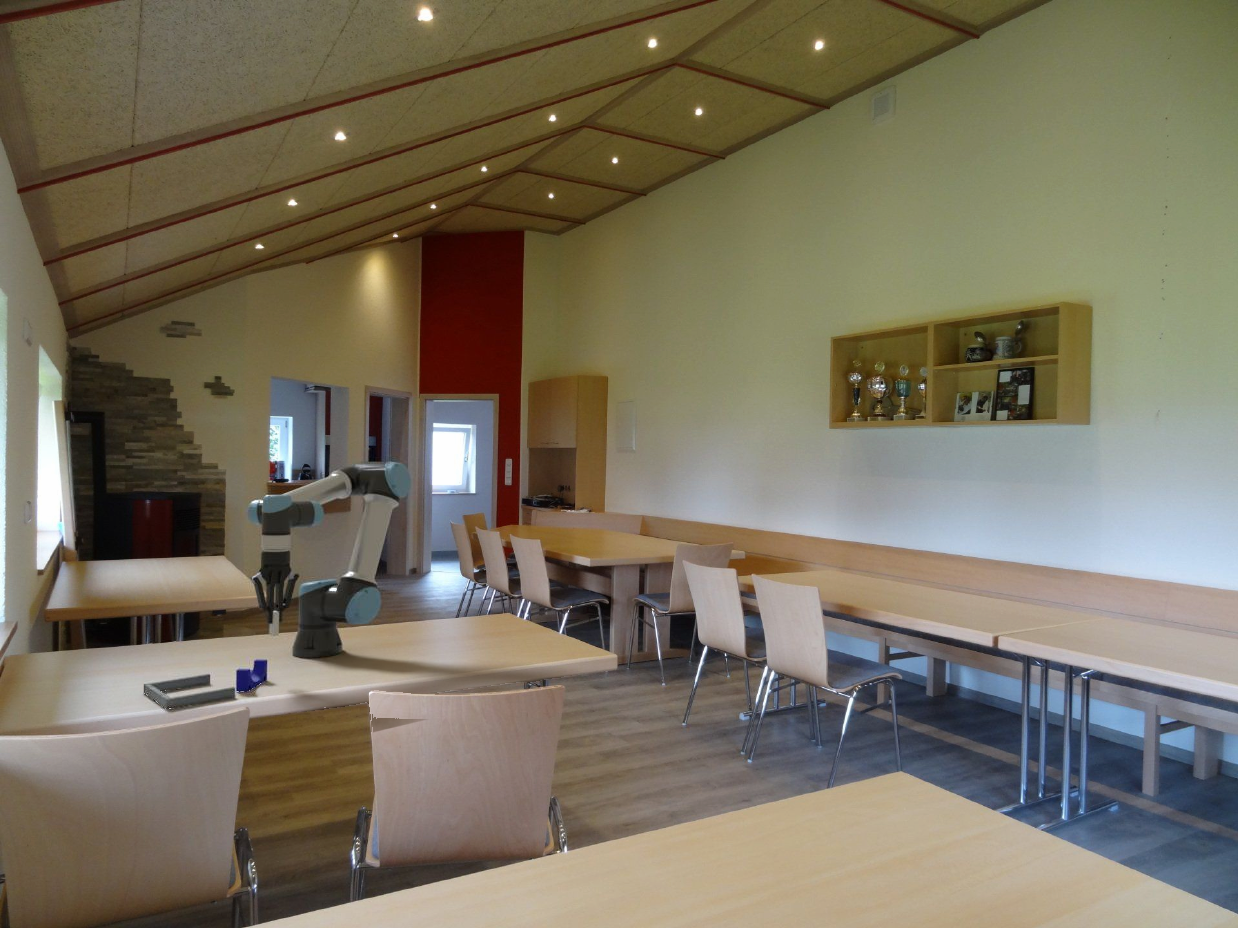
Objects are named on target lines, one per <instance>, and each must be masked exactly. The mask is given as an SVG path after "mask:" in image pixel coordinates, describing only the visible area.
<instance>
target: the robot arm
mask: <svg viewBox="0 0 1238 928" xmlns="http://www.w3.org/2000/svg"><path fill="white" fill-rule="evenodd" d="M411 489H412V477H411V474H410V471H409V469H408V468H407V467H406V465H404V464H403V463H401V462H397V461H396V462H394V461H360V462H356V463H353V464H350V465H347V466H344V467H341V468H338V469H336V470H334V471H332V472H331V473H330V474H328V476H327V477H324V478H321V479H319V480H317V481H314V482H311V483H309V484H306V485H303V486H301V487H298V488H296V489H293V490H290V491H288V492H285V493H282V494H266V495H265V496H263V498H262V499H261V498H260V499H256V500H252V501H251V502H250V503H249V505H248V507H247V510H246V514H247V515H246V516H247V518H248V520H249V521H250V523H252V524H253V525H258V526H261V543H260V545H261V550H262V551H261V552H260V568H259V572H258V573H256V574H255V575H253V576H250V581H251V582H252V583H253V585H254V591H255V594H256V599H257V603H258V607H259V610H260V611H265V612H266V615H265V616H266V624H268V625H269V626H268V627H269V628H268V629H269V632H268V635H270V636H273V637H276V636H279V630H280V628H279V627H280V623H282V622H283V612H284V611H285V610H286V609H289V608H290V606H291V601H292V598H293V595H294V590H295V587H296V582H297V581H298V580H299V578H300V575H299V573H296V572H294V571H292V568H291V565H290V564H291V551H290V550H289V549H291V541H292V539H291V534H292V528H311V527H315V526H318V525H320V524H321V523H322V522H323V519H324V515H325V513H324V507H323V506H322V505H324V504H327V503H329V502H331V501H334V500H336V499H340V500H342V499H346V498H349V497H358V496H359V497H363V500H364V501H365V503H366V504H365V508H364V511H363V514H362V518H361V522H360V524H359V528H358V532H357V536H356V539H355V543H354V547H353V550H352V555H351V557H350V561H349V565H348V569H347V572H346V573H345V574H343V575H342V576H340V579H339V582H338V579H335V578H334V579H333V578H332V579H330V578H329V579H322V580H316V581H315V580H314V581H308V582H304V583H302V584H300V586H299V590H298V595H297V596H298V629H297V634H296V635H295V639H294V641H293V645H292V648H291V649H292V650H291V653H292V654H291V655H292V656H294V657H299V658H307V659H308V658H309V659H310V658H314V659H315V658H323V657H324V658H326V657H331V656H336V655H339V654H342V652H343V642H342V639H341V636H340V632H339V629H338V623H341V624H343V623H344V624H349V625H366V624H368V623H370V622H371V621H373V620H374V618H375V617H377V615H378V613H379V611H380V610H381V606H382V598H381V592H380V590H379V589H378V585H379V584H378V583H377V581H376V579H375V577H376V574H377V570H378V567H379V563H380V559H381V555H382V551H383V549H384V548H383V547H384V544H385V539H386V535H387V532H388V528H389V524H390V521H391V518H392V517H391V516H392V513H393V510H394V509H395V508H397V507H399V504H400V500H401V499H404V498H405V497H407V496H408V495H409V493H411ZM287 578H288V579H287ZM262 580H264V581H265V588H266V591H264V586H263V584H262ZM286 580H287V583H286V586H285V581H286ZM284 587H285V590H284ZM284 591H285V592H284ZM265 592H266V595H265Z"/></svg>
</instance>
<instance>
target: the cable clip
mask: <svg viewBox="0 0 1238 928" xmlns="http://www.w3.org/2000/svg"><path fill="white" fill-rule="evenodd" d="M235 676H236V677H235V678H236V680H235V692H236V691H239V692H238V693H241V692H240V691H244V692H243V693H248V692H247V691H249V690H250V691H252V690H253V689H252V688H254V687H255V688H257V687H258V686H257V685H259V684H260V683H262V684H264V683H265V682H267V681H268V659H259V658H258V659H255V660H253V668H252V669H250V668H237V669H236V674H235ZM266 680H267V681H266ZM264 681H265V682H264ZM263 682H264V683H263ZM260 685H261V684H260ZM260 685H259V686H260ZM256 686H257V687H256ZM255 688H254V689H255ZM251 689H252V690H251ZM250 691H249V692H250Z"/></svg>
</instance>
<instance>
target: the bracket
mask: <svg viewBox="0 0 1238 928" xmlns="http://www.w3.org/2000/svg"><path fill="white" fill-rule="evenodd" d="M210 684H211V674H209V673H206V674H201V675H194V676H193V675H192V676H187V677H181V678H174V679H169V680H162V681H156V682H149V683H143V694H144V693H145V694H147V695H148V696H149V697H150V698H152V699H154V700H155V701H157V702H158V703H159V704H160V705H162V706H163V707H164V709H165V708H166V709H169V708H175V709H178V708H177V707H181V708H184V707H183V706H186V707H189V706H188V705H192V706H196V704H197V705H202V703H203V704H207V703H212V702H213V701H214V702H219V701H223V699H225V700H229V698H230V699H235V698H236V687H234V686H232V687H231V686H230V687H225V688H221V689H214V690H208V691H202V692H196V693H191V694H185V695H180V696H174V697H170V696H169V695H167V693H164V692H161V691H165V690H171V691H174V690H173V689H176V690H179V689H178V688H182V689H187V687H188V688H193V687H199V686H206V685H210ZM165 692H166V691H165ZM145 694H144V695H145ZM149 697H148V698H149ZM150 698H149V699H150ZM152 699H151V700H152ZM155 701H154V702H155ZM214 702H213V703H214ZM158 703H157V704H158ZM159 704H158V705H159ZM160 705H159V706H160ZM162 706H161V707H162ZM163 707H162V708H163ZM166 709H165V710H166Z"/></svg>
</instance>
